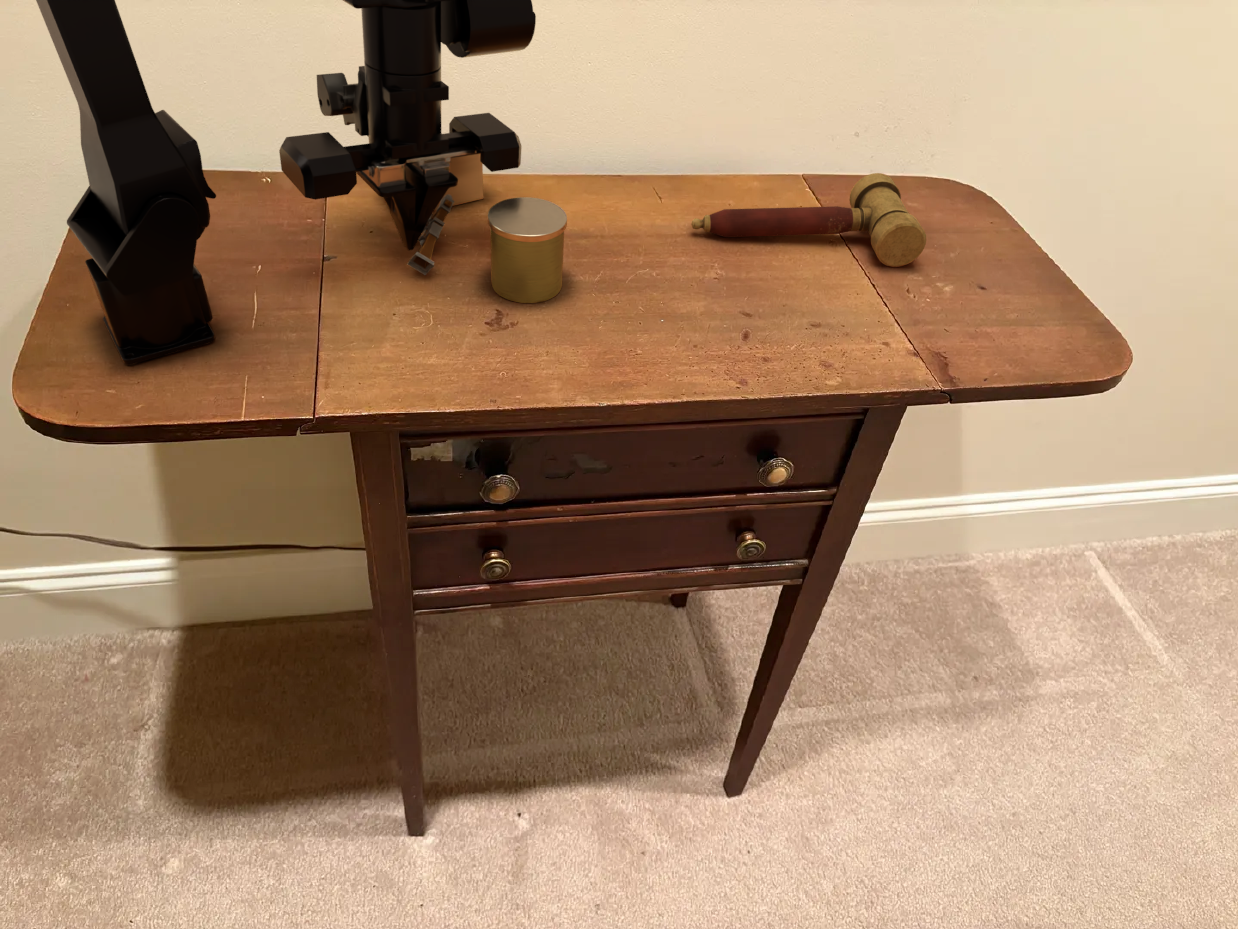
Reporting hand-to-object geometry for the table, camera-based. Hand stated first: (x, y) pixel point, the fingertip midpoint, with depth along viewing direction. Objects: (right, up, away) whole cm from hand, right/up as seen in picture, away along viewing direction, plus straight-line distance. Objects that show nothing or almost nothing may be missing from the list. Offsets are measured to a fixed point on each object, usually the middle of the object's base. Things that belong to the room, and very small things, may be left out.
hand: (408, 248), depth 80 cm
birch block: (+1, +7, +8) cm, 11 cm away
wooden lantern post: (+1, 0, 0) cm, 1 cm away
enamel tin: (+10, -3, -1) cm, 11 cm away
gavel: (+35, +3, +8) cm, 36 cm away
